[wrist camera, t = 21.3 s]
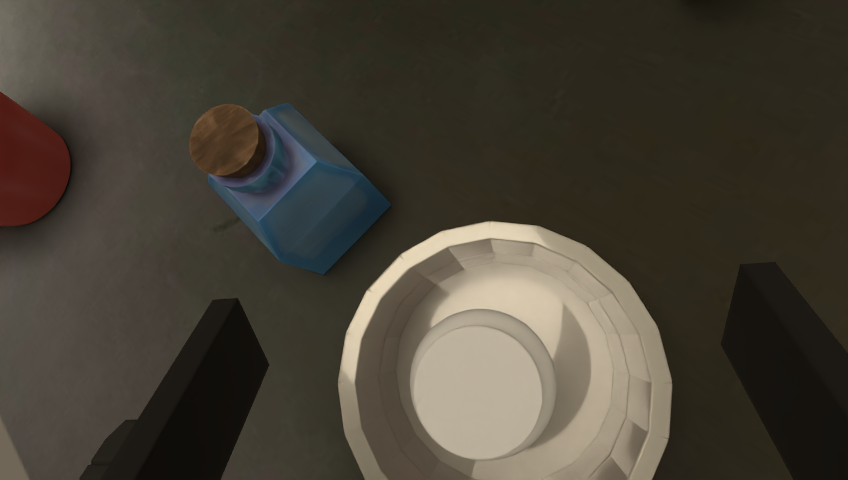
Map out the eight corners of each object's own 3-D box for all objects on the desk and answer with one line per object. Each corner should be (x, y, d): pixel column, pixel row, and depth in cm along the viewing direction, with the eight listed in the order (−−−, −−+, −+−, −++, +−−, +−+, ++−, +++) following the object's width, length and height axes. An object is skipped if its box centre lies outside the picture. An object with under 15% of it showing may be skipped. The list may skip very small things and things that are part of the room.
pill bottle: (558, 416, 28) (585, 469, 17) (448, 436, 29) (410, 498, 18) (530, 304, 29) (540, 288, 18) (427, 326, 30) (378, 322, 19)
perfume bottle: (323, 274, 32) (215, 242, 21) (262, 210, 34) (130, 146, 22) (391, 204, 32) (322, 132, 21) (327, 143, 34) (230, 43, 22)
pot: (453, 539, 28) (429, 624, 20) (349, 319, 31) (290, 315, 23) (675, 424, 27) (746, 464, 19) (544, 211, 30) (556, 166, 22)
